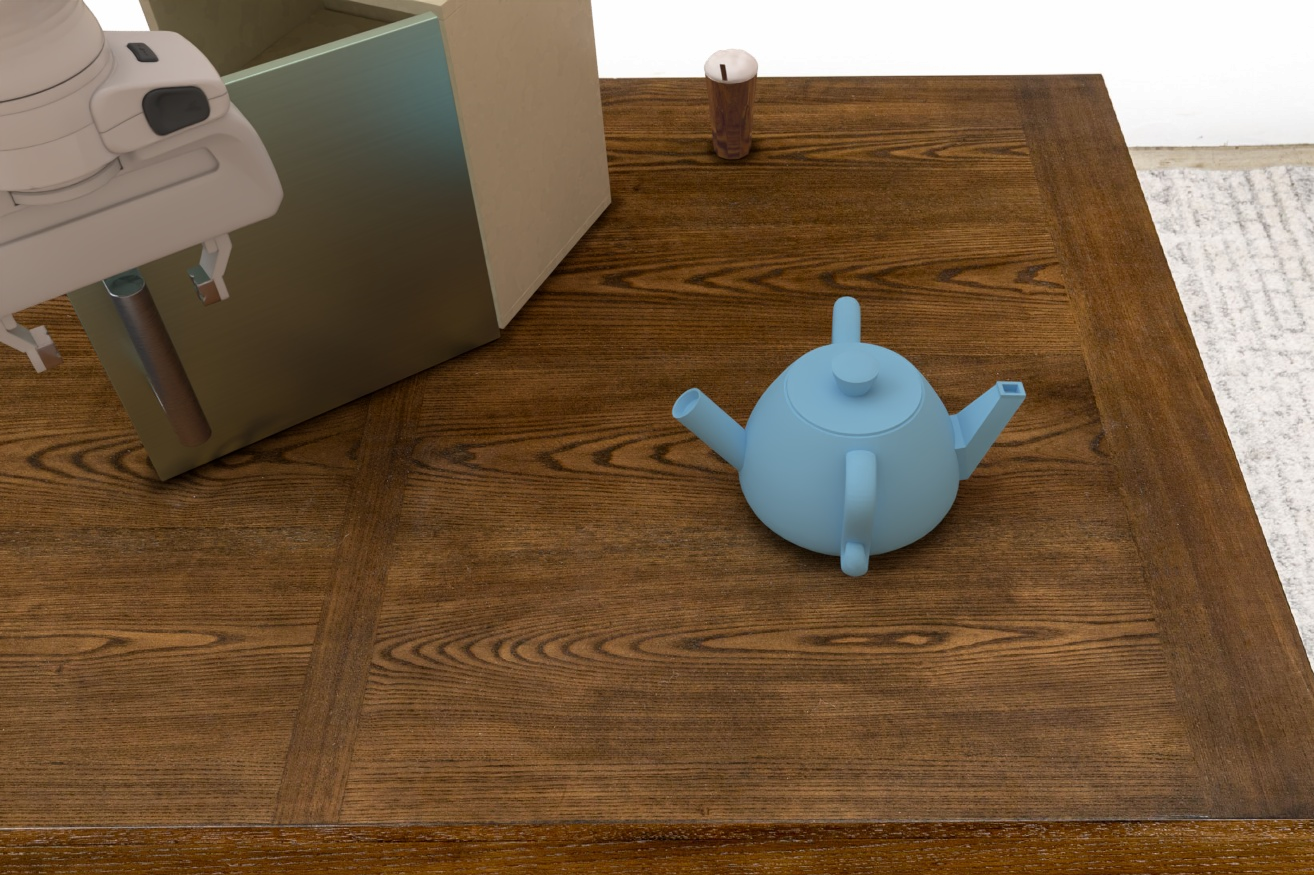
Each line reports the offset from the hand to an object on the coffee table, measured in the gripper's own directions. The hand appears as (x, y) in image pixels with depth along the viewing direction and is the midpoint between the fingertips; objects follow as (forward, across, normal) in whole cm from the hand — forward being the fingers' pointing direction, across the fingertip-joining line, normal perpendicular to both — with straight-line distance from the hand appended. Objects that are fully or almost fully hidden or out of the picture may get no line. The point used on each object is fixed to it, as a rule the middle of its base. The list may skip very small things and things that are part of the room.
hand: (133, 329), depth 72 cm
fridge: (+17, +26, +22) cm, 38 cm away
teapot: (+17, +35, -22) cm, 44 cm away
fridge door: (+17, +11, +3) cm, 20 cm away
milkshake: (+17, +53, +15) cm, 57 cm away
